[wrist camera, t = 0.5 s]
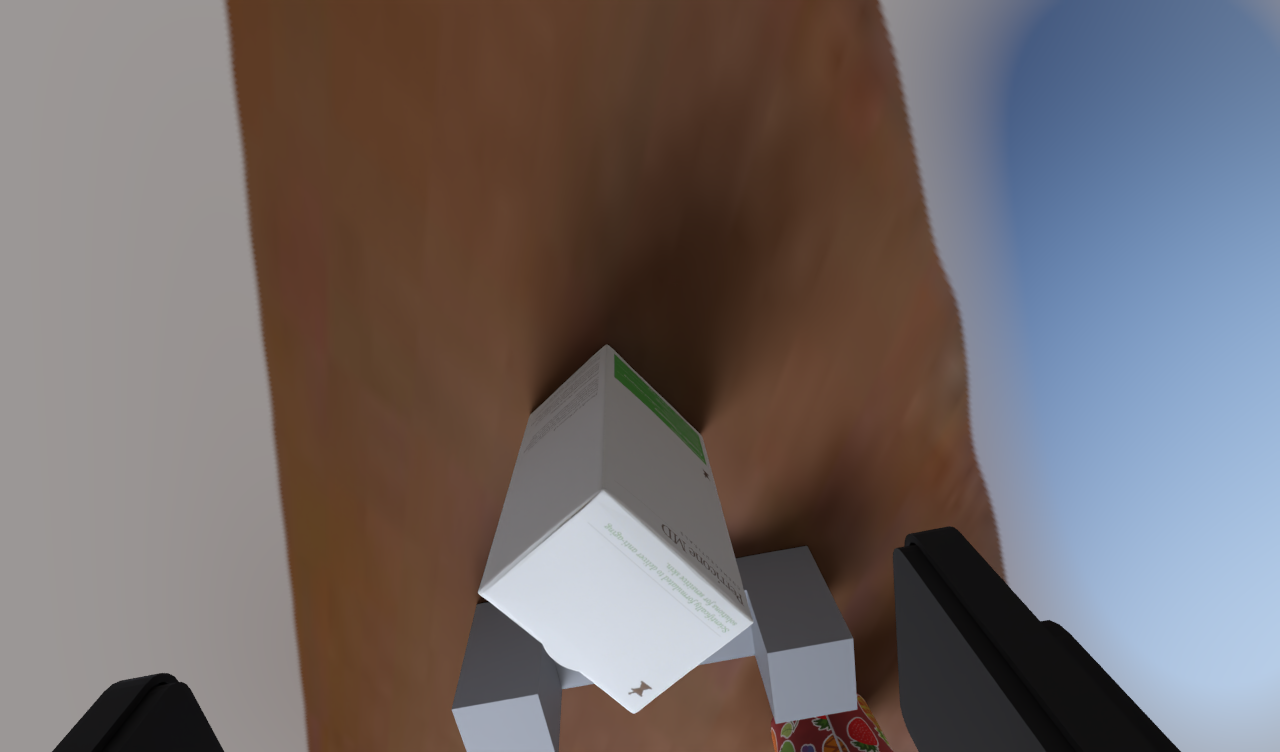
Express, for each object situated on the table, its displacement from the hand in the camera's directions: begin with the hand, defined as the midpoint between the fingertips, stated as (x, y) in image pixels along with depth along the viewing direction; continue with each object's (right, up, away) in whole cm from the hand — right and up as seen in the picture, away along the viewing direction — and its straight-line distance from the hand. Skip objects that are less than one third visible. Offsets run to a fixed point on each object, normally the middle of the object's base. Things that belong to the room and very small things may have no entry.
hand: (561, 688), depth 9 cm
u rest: (+2, -11, +34) cm, 36 cm away
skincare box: (-1, +1, +30) cm, 30 cm away
